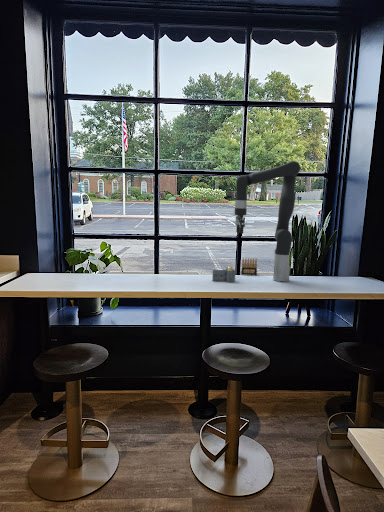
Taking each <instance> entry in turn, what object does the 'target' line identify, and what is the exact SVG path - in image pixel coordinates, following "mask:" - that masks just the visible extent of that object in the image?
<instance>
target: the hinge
mask: <svg viewBox="0 0 384 512" xmlns="http://www.w3.org/2000/svg"><path fill="white" fill-rule="evenodd" d="M212 282H227V283H235V282H236V269H233V268H232V271H228V266H225V268H224V269H212Z"/></svg>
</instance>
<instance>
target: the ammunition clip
mask: <svg viewBox="0 0 384 512" xmlns="http://www.w3.org/2000/svg"><path fill="white" fill-rule="evenodd" d="M257 261H258V258H257V257H253V258H252V257H248V258H247V257H245V259H244V257H242V263H241V270H240V271H241V272H240V275H242V276H257V275H258V262H257Z"/></svg>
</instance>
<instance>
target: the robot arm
mask: <svg viewBox="0 0 384 512" xmlns="http://www.w3.org/2000/svg"><path fill="white" fill-rule="evenodd" d="M300 165H301V164H300V163H299V162H297V161H295V160H291V161H288V162H287V163H284V164H282V165H280V166H277V167H272V168H268V169H263V170H259V171H258V170H257V171H254V172H252V173H249V174H245V175H244V174H243V175H238V176H237V178H236V180H235V183H236V184H235V185H236V186H235V187H236V188H235V189H236V191H235V201H234V215H235V227H236V230H235V233H239V234H244V228H245V226H246V217H245V216H247V209H248V207H247V206H248V203H247V197H248V195H247V193H248V191H247V190H248V186H251V185H255V184H259V183H264V182H268V181H270V180H273V179H277V178H282V187H281V191H280V197H279V205H278V212H277V213H278V216H277V217H278V218H277V224H276V228H275V233H274V238H275V241H276V248H275V249H274V260H273V276H272V277H273V278H272V280H273V279H274V280H273V281H275V280H276V282H280V281H283V282H289V281H290V272H291V271H290V270H291V266H289V265H290V255H291V254H290V252H291V250H292V241H293V235H292V233H291V231H290V230H289V226H290V222H291V221H290V220H291V218H292V215H293V213H294V209H295V202H296V189H295V187H296V186H295V183H296V178H297V175H299V173H300V171H301V166H300Z"/></svg>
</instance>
